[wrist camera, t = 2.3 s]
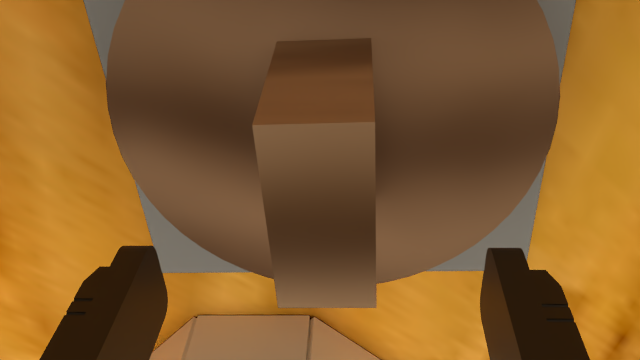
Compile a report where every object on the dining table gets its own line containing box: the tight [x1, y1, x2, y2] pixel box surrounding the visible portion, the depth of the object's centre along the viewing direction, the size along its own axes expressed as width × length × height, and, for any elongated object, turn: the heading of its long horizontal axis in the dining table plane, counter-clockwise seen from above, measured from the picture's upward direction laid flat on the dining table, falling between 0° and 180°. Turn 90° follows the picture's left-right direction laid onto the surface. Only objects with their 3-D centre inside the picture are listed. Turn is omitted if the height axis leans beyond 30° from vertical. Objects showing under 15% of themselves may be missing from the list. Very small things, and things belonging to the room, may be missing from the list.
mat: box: [83, 0, 576, 273], centre depth 20 cm, size 15×15×1 cm
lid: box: [106, 0, 560, 308], centre depth 18 cm, size 14×14×6 cm
